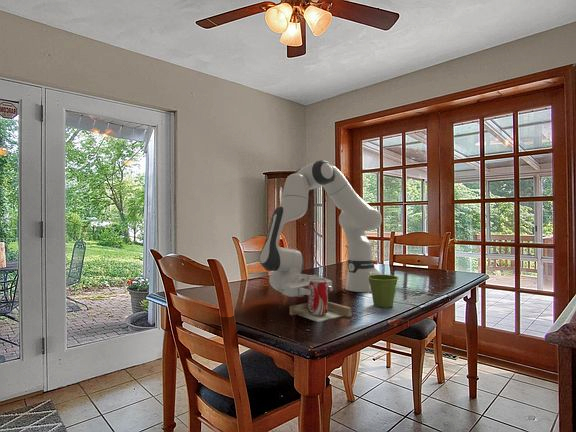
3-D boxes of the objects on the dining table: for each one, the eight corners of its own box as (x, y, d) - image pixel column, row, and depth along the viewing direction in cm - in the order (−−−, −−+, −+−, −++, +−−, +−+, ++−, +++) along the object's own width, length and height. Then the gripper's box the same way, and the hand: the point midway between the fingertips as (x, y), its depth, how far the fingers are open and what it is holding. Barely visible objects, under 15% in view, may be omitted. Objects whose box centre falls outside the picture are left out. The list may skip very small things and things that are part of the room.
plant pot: (361, 305, 139) (360, 276, 139) (381, 300, 146) (380, 273, 146) (385, 311, 130) (385, 280, 130) (405, 306, 137) (405, 277, 137)
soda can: (326, 317, 122) (326, 283, 121) (305, 315, 123) (306, 281, 123) (328, 311, 128) (329, 278, 128) (309, 309, 130) (310, 277, 130)
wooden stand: (322, 307, 136) (322, 299, 136) (351, 316, 124) (351, 307, 124) (289, 314, 127) (289, 306, 127) (317, 324, 115) (317, 315, 115)
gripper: (275, 279, 131) (297, 285, 119) (317, 274, 142) (341, 278, 131) (275, 297, 131) (297, 304, 119) (318, 289, 142) (342, 295, 131)
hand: (321, 290), depth 125 cm, fingers open, 8 cm apart
